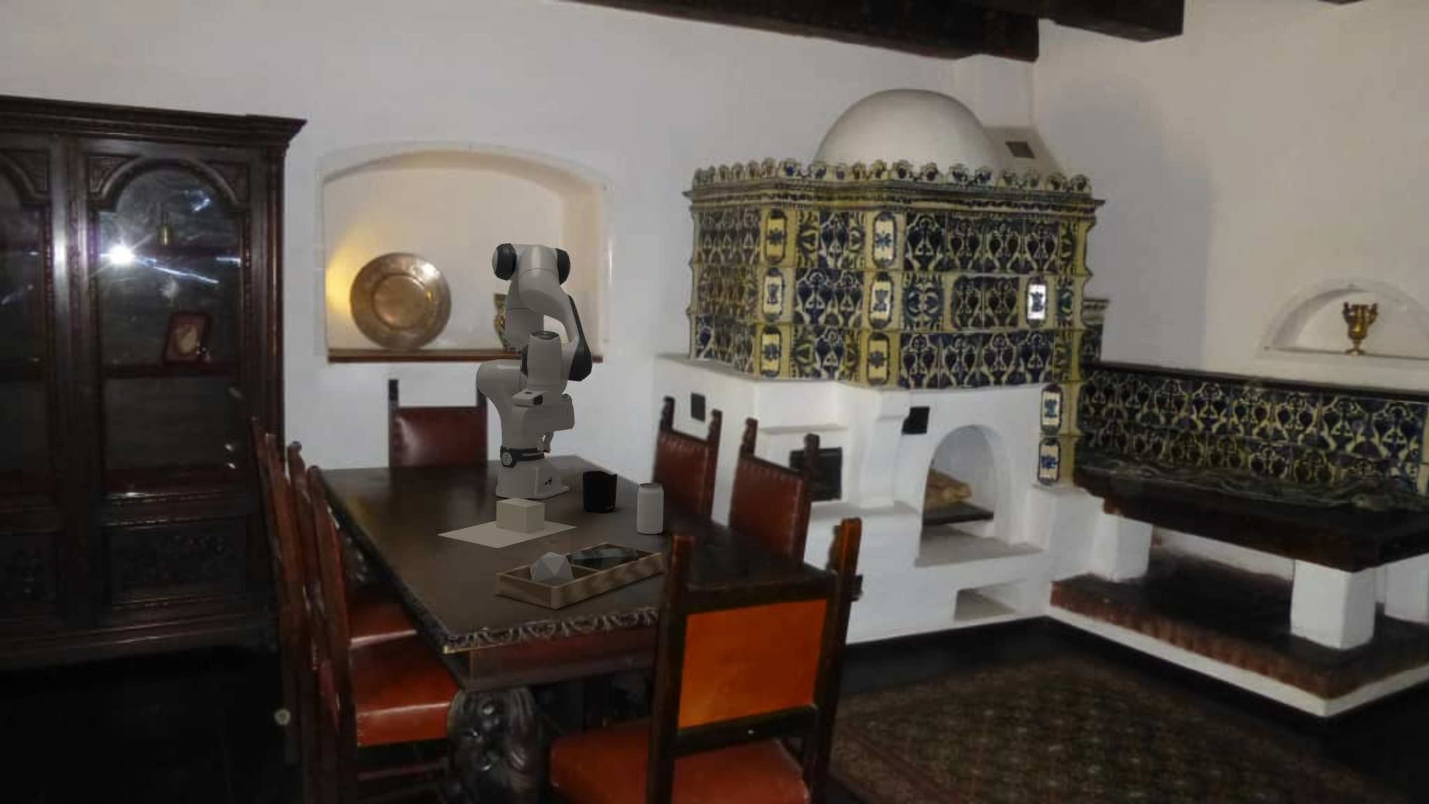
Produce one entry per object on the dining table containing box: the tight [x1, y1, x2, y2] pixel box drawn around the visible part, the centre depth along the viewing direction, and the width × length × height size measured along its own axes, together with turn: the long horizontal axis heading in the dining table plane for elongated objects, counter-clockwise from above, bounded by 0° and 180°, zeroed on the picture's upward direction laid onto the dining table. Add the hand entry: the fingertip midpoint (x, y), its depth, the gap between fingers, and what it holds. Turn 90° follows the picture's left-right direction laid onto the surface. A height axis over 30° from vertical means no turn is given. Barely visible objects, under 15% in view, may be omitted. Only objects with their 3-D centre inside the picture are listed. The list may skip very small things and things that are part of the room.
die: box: [530, 551, 574, 586], centre depth 214 cm, size 8×9×10 cm
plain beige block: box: [495, 498, 546, 533], centre depth 267 cm, size 6×10×6 cm, turn 57°
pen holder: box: [582, 470, 618, 514], centre depth 292 cm, size 9×9×10 cm
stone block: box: [570, 546, 639, 571], centre depth 228 cm, size 9×14×5 cm, turn 104°
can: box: [636, 482, 665, 535], centre depth 268 cm, size 6×6×12 cm
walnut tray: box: [494, 541, 664, 610], centre depth 223 cm, size 35×16×4 cm, turn 147°
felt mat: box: [437, 520, 577, 549], centre depth 264 cm, size 28×20×1 cm
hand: (543, 450), depth 272 cm, fingers closed
